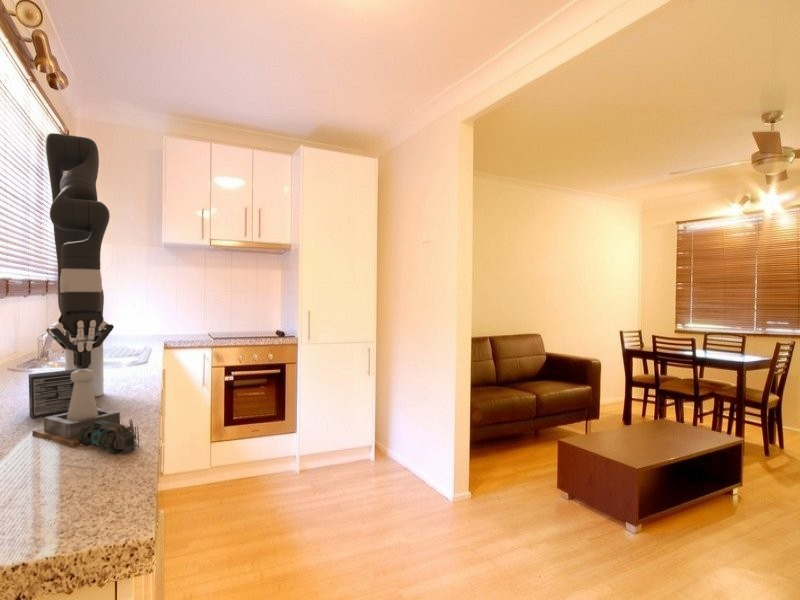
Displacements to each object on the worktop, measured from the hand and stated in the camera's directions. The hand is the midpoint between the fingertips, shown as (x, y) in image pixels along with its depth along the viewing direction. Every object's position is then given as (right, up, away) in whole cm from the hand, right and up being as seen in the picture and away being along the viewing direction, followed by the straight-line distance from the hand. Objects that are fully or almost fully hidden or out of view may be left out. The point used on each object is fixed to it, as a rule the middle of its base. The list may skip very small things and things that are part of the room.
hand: (82, 367), depth 98 cm
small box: (-19, -14, +17) cm, 29 cm away
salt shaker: (0, -14, 0) cm, 14 cm away
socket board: (0, -15, 0) cm, 14 cm away
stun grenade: (+12, -15, -8) cm, 21 cm away
